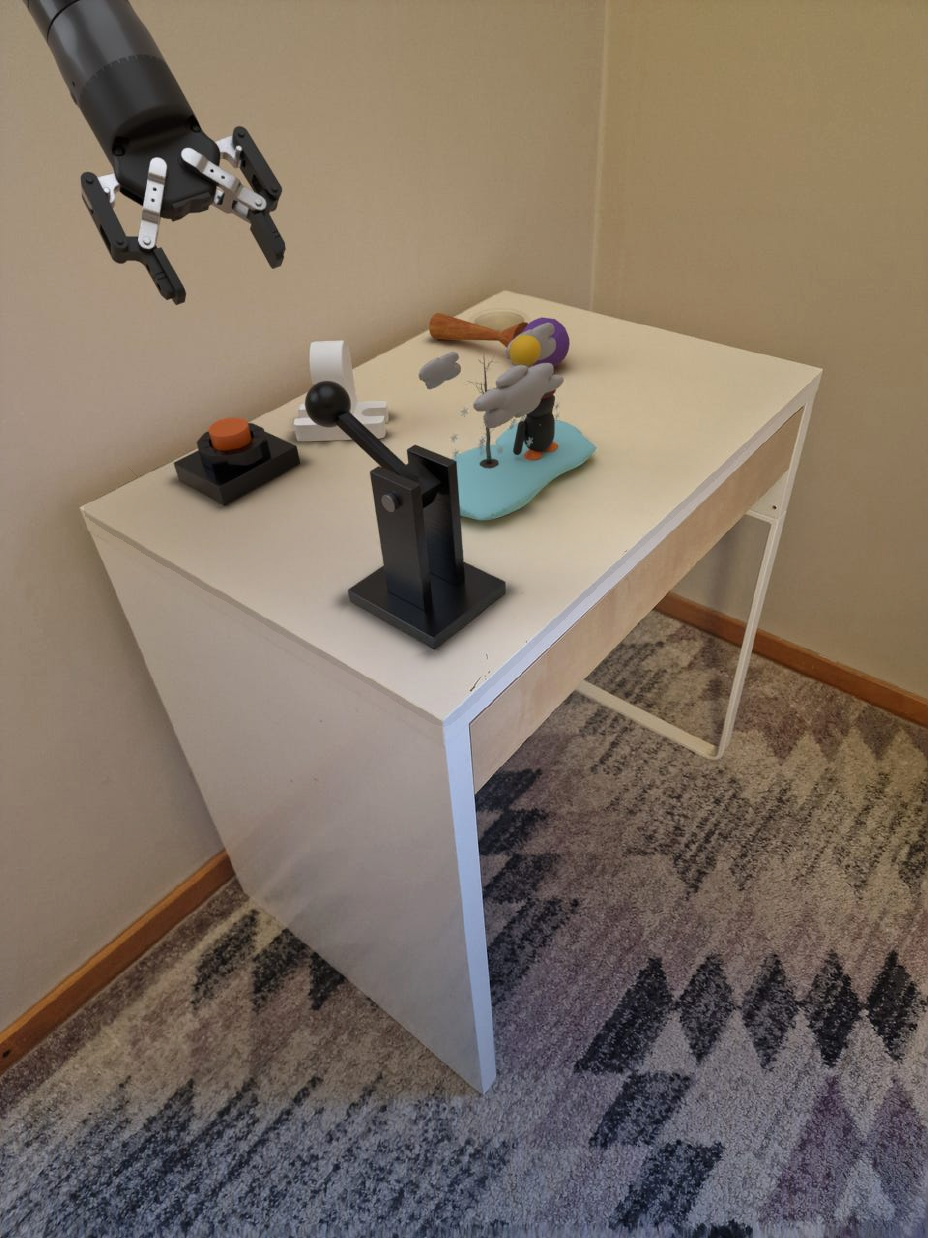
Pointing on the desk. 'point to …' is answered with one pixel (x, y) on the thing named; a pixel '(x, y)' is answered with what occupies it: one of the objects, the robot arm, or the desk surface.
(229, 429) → the button
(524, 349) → the penguin figurine
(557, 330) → the kendama
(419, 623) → the switch bracket
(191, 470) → the button housing
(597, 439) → the desk surface
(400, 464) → the lever
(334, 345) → the white mounting bracket
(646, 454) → the desk surface
